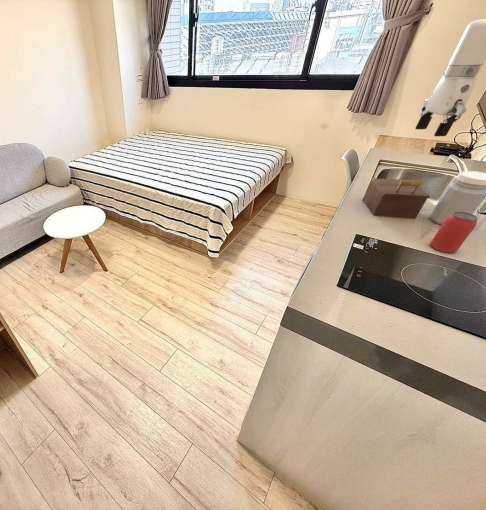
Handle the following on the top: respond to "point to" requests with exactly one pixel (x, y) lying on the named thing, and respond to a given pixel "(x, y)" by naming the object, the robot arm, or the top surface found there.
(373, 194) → the storage box
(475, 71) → the robot arm
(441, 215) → the jar
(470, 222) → the beer can
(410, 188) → the box lid
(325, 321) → the top surface
